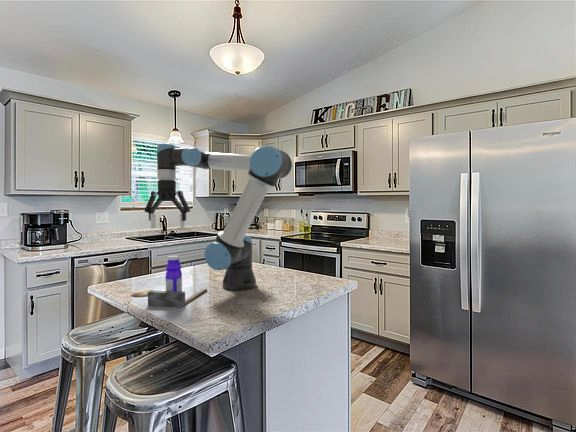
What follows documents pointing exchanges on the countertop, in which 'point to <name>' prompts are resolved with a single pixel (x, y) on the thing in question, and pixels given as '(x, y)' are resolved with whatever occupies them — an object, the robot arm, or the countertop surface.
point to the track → (170, 298)
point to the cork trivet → (140, 293)
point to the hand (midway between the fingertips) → (167, 228)
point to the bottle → (173, 274)
